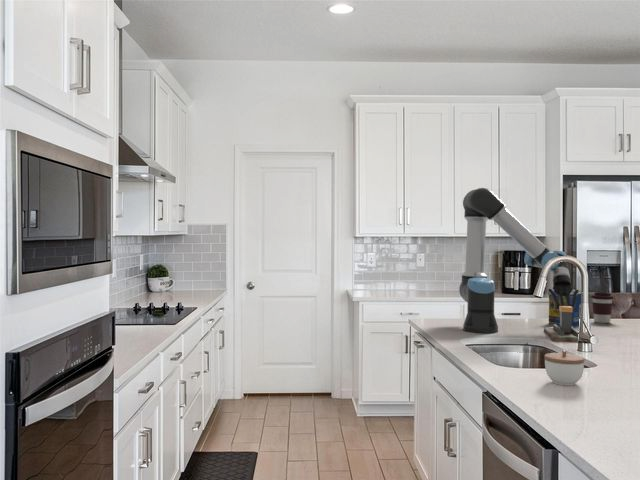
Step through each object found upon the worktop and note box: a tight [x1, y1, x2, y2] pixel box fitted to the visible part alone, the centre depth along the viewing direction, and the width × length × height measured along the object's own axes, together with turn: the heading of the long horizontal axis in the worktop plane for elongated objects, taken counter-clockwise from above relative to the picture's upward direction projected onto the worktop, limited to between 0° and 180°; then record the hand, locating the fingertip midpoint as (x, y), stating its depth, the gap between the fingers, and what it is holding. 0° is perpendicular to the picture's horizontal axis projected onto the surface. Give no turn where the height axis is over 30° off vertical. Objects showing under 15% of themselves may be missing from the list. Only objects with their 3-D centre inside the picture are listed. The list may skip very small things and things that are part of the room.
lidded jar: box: [544, 350, 585, 387], centre depth 168 cm, size 11×11×9 cm
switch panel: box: [543, 324, 579, 343], centre depth 247 cm, size 14×26×4 cm, turn 166°
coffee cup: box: [590, 291, 614, 324], centre depth 289 cm, size 10×10×15 cm
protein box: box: [548, 291, 581, 327], centre depth 283 cm, size 10×15×16 cm
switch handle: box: [559, 306, 573, 333], centre depth 247 cm, size 5×5×11 cm
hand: (567, 321), depth 250 cm, fingers closed
